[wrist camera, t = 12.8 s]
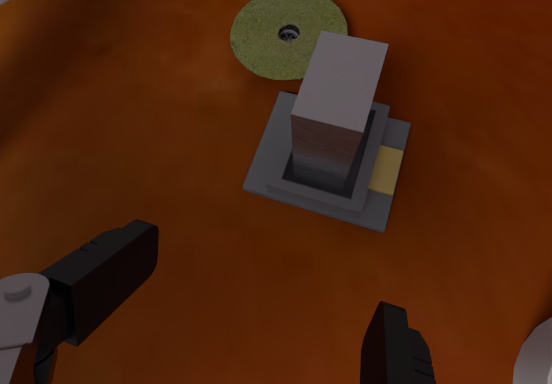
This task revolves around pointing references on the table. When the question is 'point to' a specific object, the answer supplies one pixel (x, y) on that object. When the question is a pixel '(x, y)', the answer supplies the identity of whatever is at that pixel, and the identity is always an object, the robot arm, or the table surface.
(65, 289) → the robot arm
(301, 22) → the green round disc
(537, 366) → the honey pot
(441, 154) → the table surface
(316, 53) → the tall grey rectangular box
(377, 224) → the grey tray
